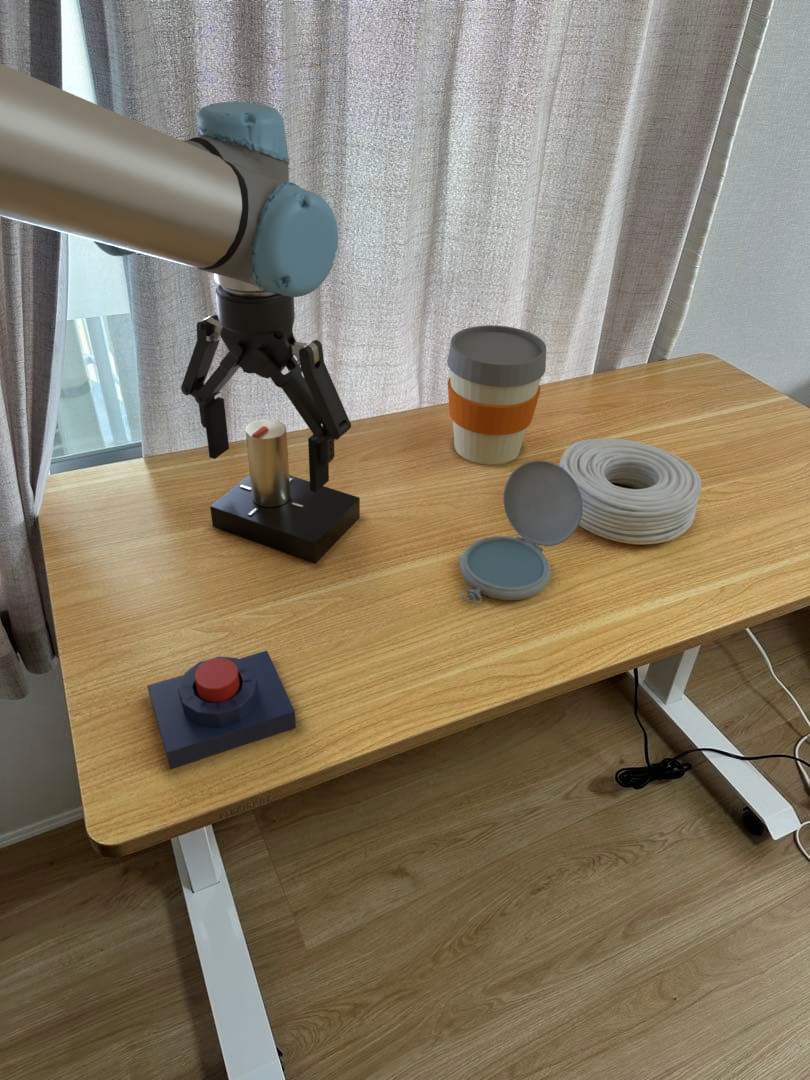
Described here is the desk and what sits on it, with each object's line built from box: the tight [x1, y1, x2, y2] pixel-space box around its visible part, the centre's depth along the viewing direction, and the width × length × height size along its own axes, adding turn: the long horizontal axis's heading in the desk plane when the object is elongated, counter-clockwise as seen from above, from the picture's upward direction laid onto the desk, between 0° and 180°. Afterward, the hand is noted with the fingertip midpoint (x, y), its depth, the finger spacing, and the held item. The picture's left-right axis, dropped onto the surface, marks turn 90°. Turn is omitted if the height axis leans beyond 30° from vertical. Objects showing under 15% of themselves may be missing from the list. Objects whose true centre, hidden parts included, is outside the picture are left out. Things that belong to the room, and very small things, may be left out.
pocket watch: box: [458, 459, 583, 604], centre depth 86 cm, size 10×11×15 cm
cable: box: [558, 437, 702, 545], centre depth 98 cm, size 18×18×6 cm
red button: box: [195, 657, 240, 703], centre depth 69 cm, size 4×4×2 cm
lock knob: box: [245, 418, 290, 507], centre depth 91 cm, size 4×4×9 cm
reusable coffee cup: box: [446, 324, 547, 466], centre depth 106 cm, size 13×13×15 cm
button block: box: [146, 650, 297, 770], centre depth 71 cm, size 11×8×4 cm
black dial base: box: [209, 474, 361, 565], centre depth 94 cm, size 14×10×3 cm
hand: (268, 469), depth 91 cm, fingers open, 13 cm apart
